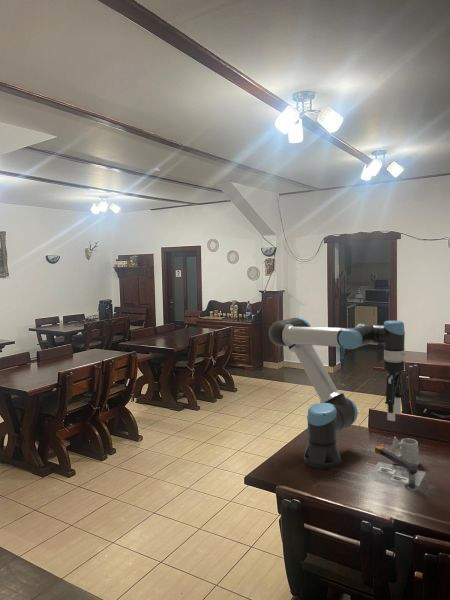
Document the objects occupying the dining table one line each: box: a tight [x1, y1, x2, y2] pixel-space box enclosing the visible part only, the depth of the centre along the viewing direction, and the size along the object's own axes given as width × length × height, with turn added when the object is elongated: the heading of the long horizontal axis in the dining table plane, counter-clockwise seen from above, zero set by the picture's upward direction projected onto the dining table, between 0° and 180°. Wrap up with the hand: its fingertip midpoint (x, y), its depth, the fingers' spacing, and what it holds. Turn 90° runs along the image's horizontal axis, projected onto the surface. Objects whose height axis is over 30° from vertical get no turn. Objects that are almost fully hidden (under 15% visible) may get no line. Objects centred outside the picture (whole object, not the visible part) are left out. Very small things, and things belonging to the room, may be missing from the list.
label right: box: [390, 475, 409, 484], centre depth 170 cm, size 6×4×1 cm, turn 56°
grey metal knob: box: [404, 473, 420, 492], centre depth 164 cm, size 5×5×7 cm
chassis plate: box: [366, 461, 427, 492], centre depth 174 cm, size 18×17×1 cm
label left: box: [377, 467, 396, 475], centre depth 177 cm, size 6×4×1 cm, turn 56°
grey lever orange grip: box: [374, 445, 418, 473], centre depth 172 cm, size 20×4×2 cm, turn 21°
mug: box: [389, 436, 421, 467], centre depth 183 cm, size 8×12×12 cm, turn 95°
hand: (394, 416), depth 179 cm, fingers open, 8 cm apart
